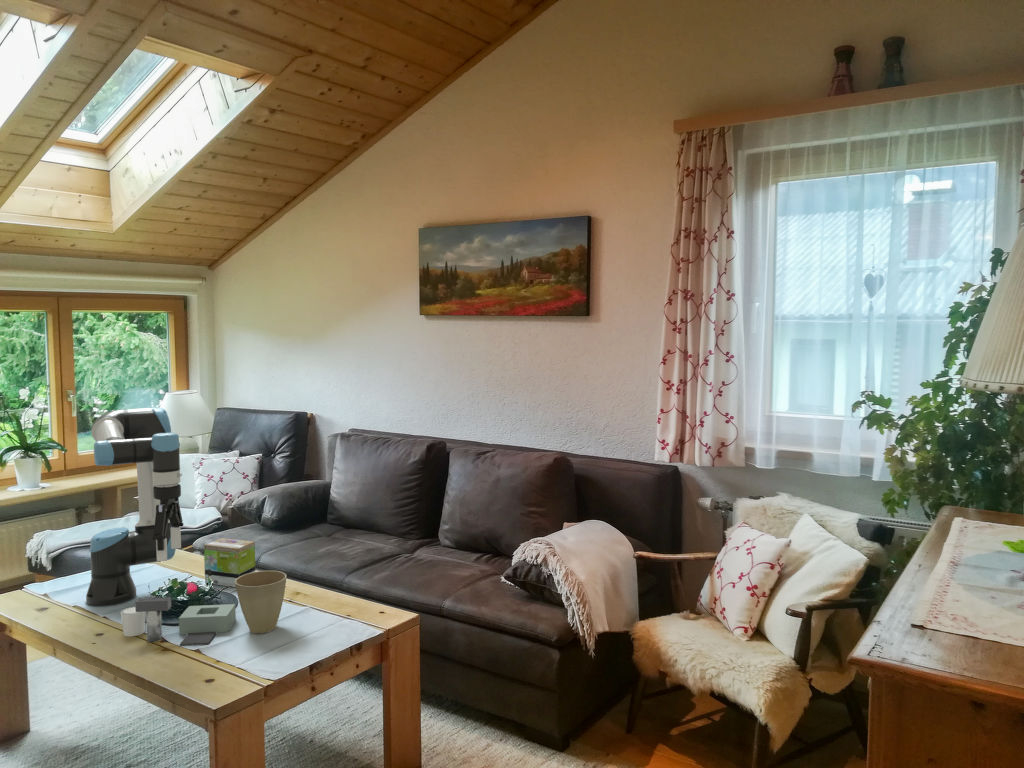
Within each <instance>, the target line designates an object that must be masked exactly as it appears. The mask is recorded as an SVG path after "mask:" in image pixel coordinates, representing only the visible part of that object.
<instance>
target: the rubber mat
mask: <svg viewBox="0 0 1024 768" xmlns="http://www.w3.org/2000/svg"><path fill="white" fill-rule="evenodd" d="M216 635H217V632H201V633H188V634H186V635H185V637H184V638H183V639H182V640H181V642H180V643H179V646H180V647H185V646H186V647H187V646H202V645H203V646H205V645H206V646H207V645H210V644H211V642H212V640H213V639H214V637H215V636H216Z"/></svg>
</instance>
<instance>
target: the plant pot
mask: <svg viewBox="0 0 1024 768" xmlns="http://www.w3.org/2000/svg"><path fill="white" fill-rule="evenodd" d="M286 583H287V573H285V572H283V571H279V570H260V571H259V570H258V571H255V572H252V573H248V574H245V575H242V576H240V577H238V578H237V579H236V580H235V585H236V587H235V589H236V590H235V591H236V594H237V599H238V602H239V606H240V610H241V612H242V615H243V618H244V620H245V622H246V625H247V628H248V630H249V631H250V632H251V633H252V634H267V633H270V632H272V631H274V630H275V629H276V628H277V624H278V621H279V618H280V615H281V611H282V607H283V602H284V597H285V592H286Z"/></svg>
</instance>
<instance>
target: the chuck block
mask: <svg viewBox="0 0 1024 768" xmlns="http://www.w3.org/2000/svg"><path fill="white" fill-rule="evenodd" d="M236 618H237V616H236V603H235V604H234V603H232V604H230V603H229V604H209V605H207V604H206V605H188V606H187V608H186V609H185V610H184V611H183V613H182V614H180V616H179V617H178V635H187V634H188V633H201V632H216V633H228V632H229V630H230V629H231V628H232V626H233V625H234V622H236V620H237V619H236Z"/></svg>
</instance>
